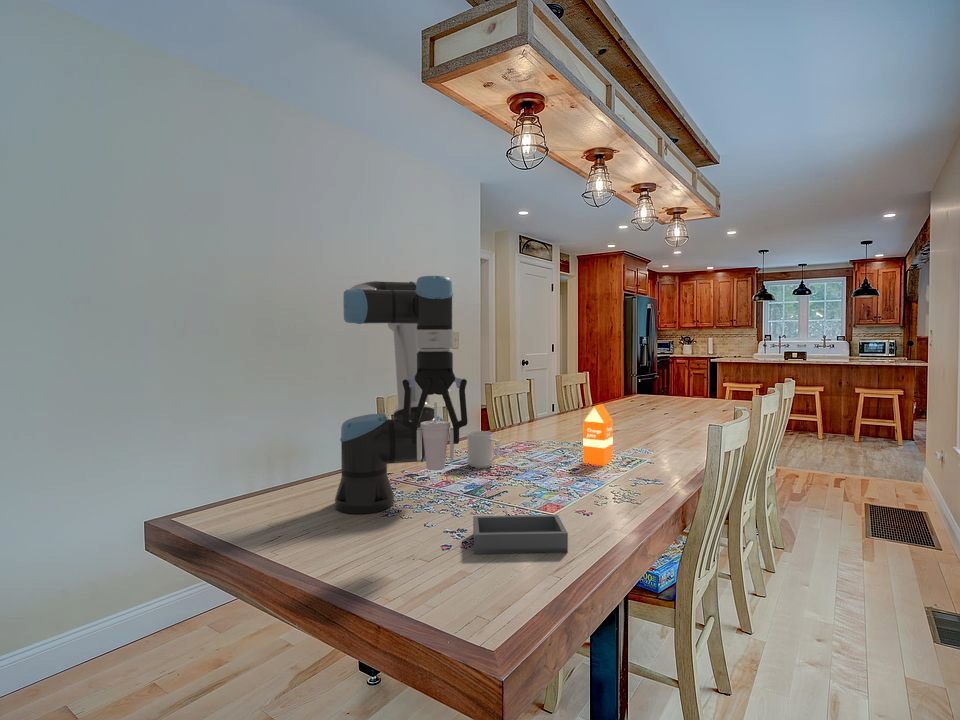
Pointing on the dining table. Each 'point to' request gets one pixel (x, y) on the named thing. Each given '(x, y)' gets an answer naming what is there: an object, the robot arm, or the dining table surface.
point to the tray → (519, 534)
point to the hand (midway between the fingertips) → (435, 459)
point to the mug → (481, 449)
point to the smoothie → (435, 441)
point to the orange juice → (597, 436)
